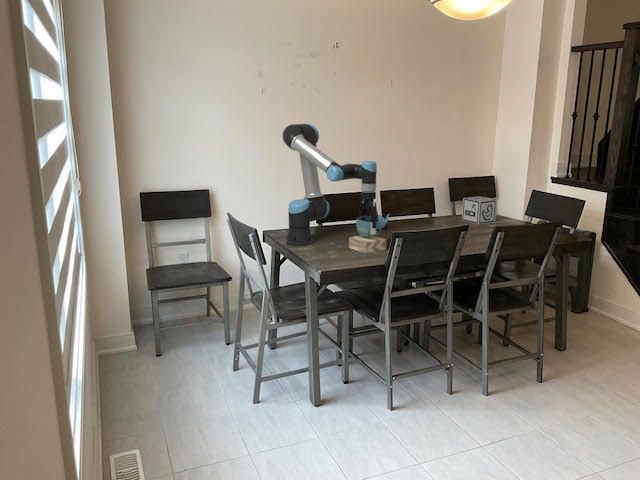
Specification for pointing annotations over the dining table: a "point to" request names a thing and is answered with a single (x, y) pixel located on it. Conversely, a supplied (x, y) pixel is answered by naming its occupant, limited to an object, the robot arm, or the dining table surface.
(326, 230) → the dining table surface
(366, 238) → the birch block
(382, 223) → the teapot
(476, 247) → the dining table surface
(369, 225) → the flower pot
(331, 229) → the dining table surface
